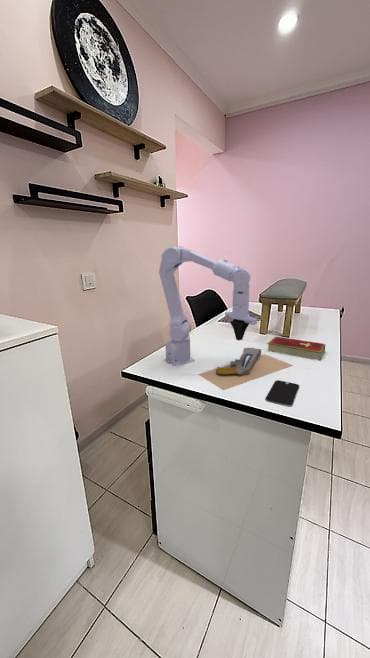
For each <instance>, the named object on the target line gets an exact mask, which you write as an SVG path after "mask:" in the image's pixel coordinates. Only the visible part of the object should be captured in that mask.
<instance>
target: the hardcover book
mask: <svg viewBox="0 0 370 658" xmlns="http://www.w3.org/2000/svg"><path fill="white" fill-rule="evenodd" d="M267 345H268V348H267V350H268V352H273V353H279V354H284V355H288V356H289V355H290V356H294V357H295V356H296V357H300V358H306V359H311V360H316V361H319V360H320V359H321V357H322V355H323V354H324V353H325V352H326V343H321V342H316V341H308V340H303V339H301V340H300V339H296V338H295V339H294V338H288V337H283V336H277V335H276V336H274V337H273V338H272V339H271V340H269V342H267Z"/></svg>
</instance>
